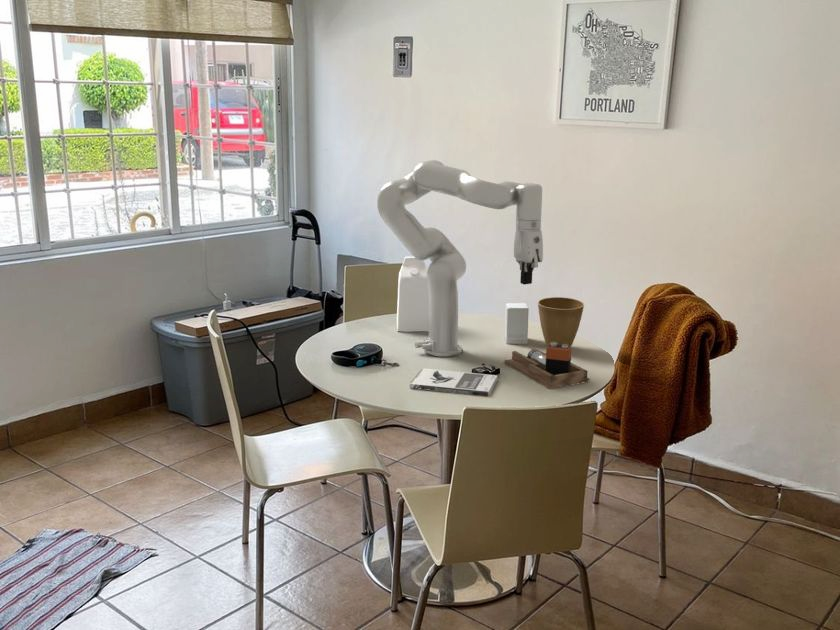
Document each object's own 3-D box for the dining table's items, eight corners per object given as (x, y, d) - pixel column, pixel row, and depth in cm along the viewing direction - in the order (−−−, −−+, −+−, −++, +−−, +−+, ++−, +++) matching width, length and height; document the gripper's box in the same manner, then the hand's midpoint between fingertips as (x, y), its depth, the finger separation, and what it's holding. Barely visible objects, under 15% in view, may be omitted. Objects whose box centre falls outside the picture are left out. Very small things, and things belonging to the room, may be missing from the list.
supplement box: (527, 344, 266) (529, 308, 263) (505, 343, 266) (507, 308, 263) (525, 337, 273) (526, 302, 270) (504, 337, 273) (505, 302, 270)
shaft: (545, 372, 235) (545, 359, 234) (526, 362, 243) (527, 350, 242) (556, 370, 236) (556, 358, 235) (537, 361, 245) (538, 348, 244)
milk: (428, 322, 291) (429, 253, 285) (431, 331, 280) (431, 260, 273) (396, 323, 291) (396, 254, 284) (397, 332, 280) (397, 260, 273)
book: (497, 381, 232) (497, 375, 231) (488, 398, 219) (488, 391, 218) (422, 374, 238) (422, 368, 237) (409, 390, 225) (409, 383, 224)
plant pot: (528, 345, 265) (529, 299, 260) (566, 340, 270) (568, 295, 266) (550, 358, 251) (552, 310, 247) (590, 353, 256) (593, 306, 252)
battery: (547, 372, 235) (549, 340, 233) (570, 374, 233) (572, 342, 230) (544, 376, 231) (546, 344, 229) (567, 379, 229) (569, 347, 227)
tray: (549, 388, 225) (549, 377, 224) (504, 363, 246) (504, 352, 245) (589, 381, 230) (589, 370, 229) (541, 357, 252) (542, 347, 251)
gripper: (552, 227, 233) (549, 287, 238) (525, 220, 246) (523, 277, 251) (531, 229, 230) (528, 289, 235) (505, 222, 243) (503, 279, 248)
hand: (526, 283), depth 243 cm, fingers closed
